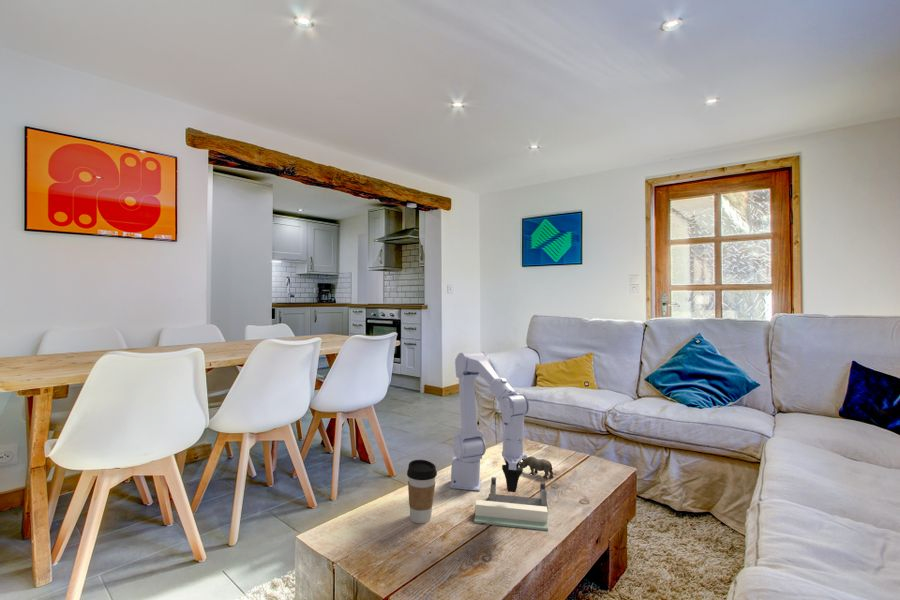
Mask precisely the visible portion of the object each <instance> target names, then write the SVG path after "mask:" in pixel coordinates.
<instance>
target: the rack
mask: <svg viewBox="0 0 900 600" xmlns="http://www.w3.org/2000/svg"><path fill="white" fill-rule="evenodd" d="M539 482H540V483H539V498H537V497H536V498H535V497H528V496H517V495H508V494H507V495H505V494H499V493H497V492H496V491H497V477H494V476H491V481H490V483H491V484H490V488H489V490H490V492H489V493H488V500H487V501H494V502H504V503H514V504H524V505H534V506H544V507H547V510H548V511H549V506H548V501H547V494H548V491H547V489H546V482H545V481H539ZM496 493H497V494H496Z"/></svg>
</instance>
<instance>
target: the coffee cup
mask: <svg viewBox="0 0 900 600" xmlns="http://www.w3.org/2000/svg"><path fill="white" fill-rule="evenodd" d="M437 471H438V470H437V467H436V465H435V464H434V463H433V462H431V461H429V460H426V459H414V460H411V461H410V462H409V463H408V467H407V471H406V475H407V477H408V480H407V488H408V489H407V490H408V492H407V493H408V501H409V502H408V504H409V505H408V506H409V520H410V521H411V522H412V523H415V522H416V524H426V523H429V522H430V521H431V520H430V519H432V513H433V505H434V497H435V489H436V477H437V476H438V472H437Z"/></svg>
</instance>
